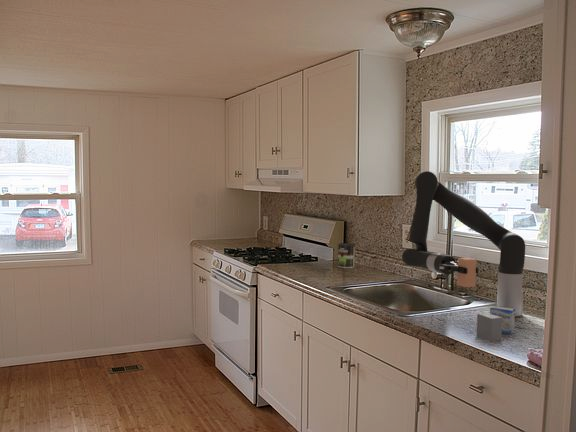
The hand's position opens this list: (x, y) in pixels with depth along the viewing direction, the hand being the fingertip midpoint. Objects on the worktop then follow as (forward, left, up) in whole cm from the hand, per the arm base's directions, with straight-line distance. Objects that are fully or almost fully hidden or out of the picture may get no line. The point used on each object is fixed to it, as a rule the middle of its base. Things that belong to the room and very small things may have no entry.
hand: (472, 270), depth 199 cm
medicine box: (-10, +5, -22) cm, 25 cm away
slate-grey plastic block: (+1, +10, -22) cm, 24 cm away
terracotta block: (0, -3, -6) cm, 7 cm away
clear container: (-29, -139, -22) cm, 143 cm away
